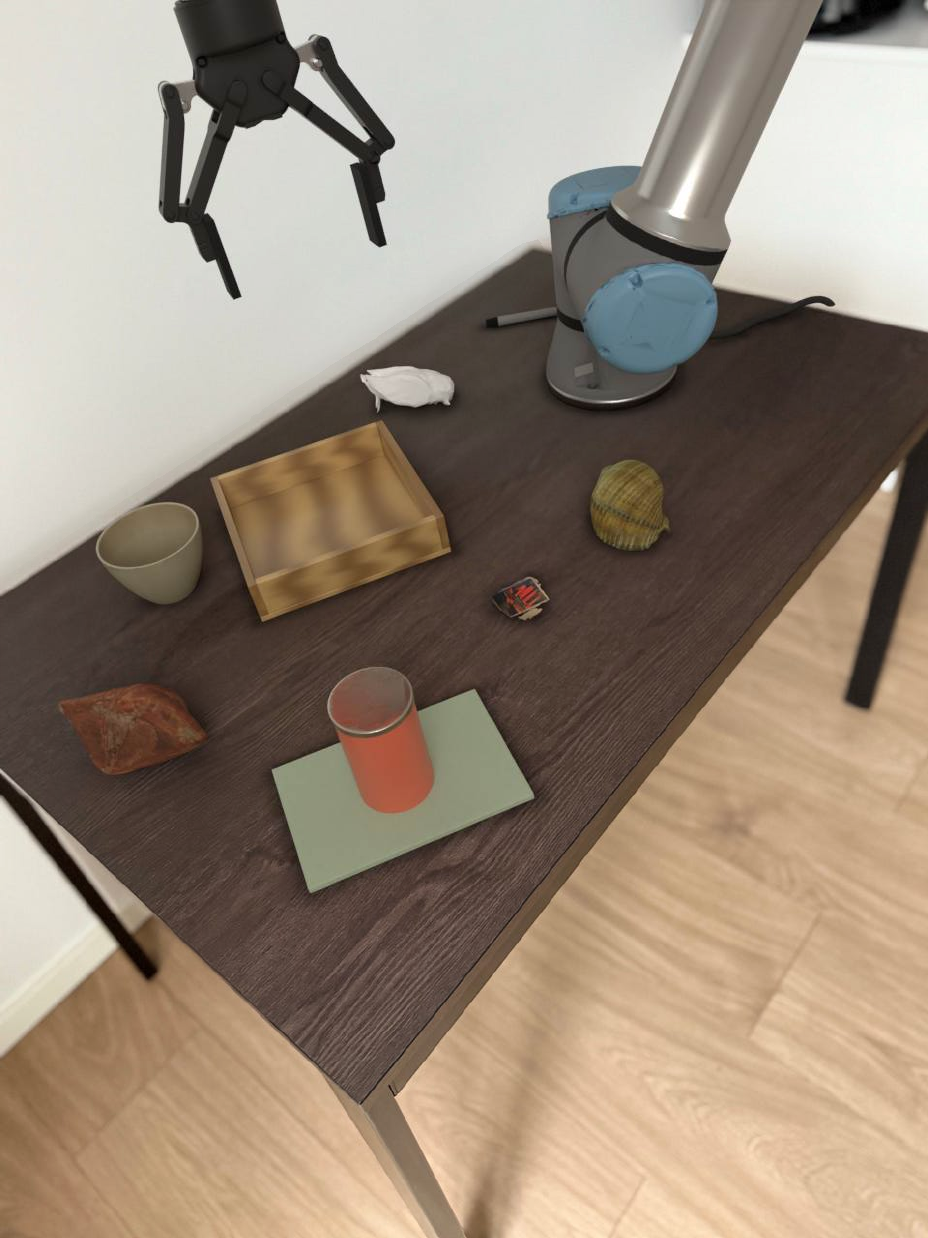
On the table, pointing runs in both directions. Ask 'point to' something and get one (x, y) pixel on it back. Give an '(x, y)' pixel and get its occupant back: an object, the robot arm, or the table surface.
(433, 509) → the wooden box
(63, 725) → the table surface
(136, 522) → the beige bowl
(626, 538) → the seashell
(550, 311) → the pen
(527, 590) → the matchbox
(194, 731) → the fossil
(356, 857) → the mat
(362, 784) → the cylinder
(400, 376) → the bird figurine
